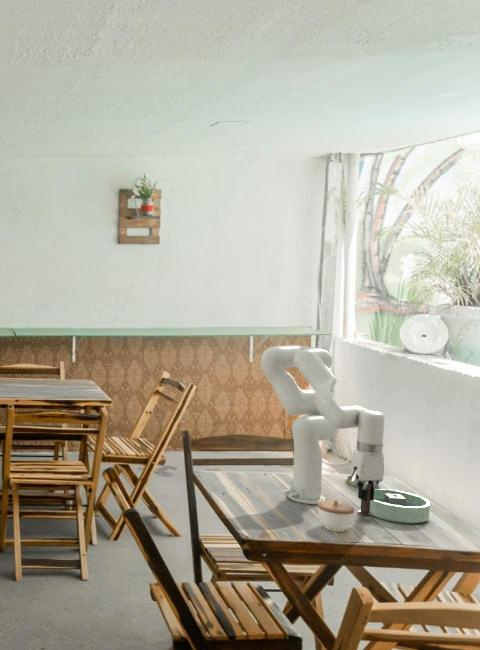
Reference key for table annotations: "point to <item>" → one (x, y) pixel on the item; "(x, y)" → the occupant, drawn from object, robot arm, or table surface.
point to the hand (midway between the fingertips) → (365, 498)
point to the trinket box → (335, 514)
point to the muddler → (366, 504)
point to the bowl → (400, 507)
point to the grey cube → (395, 499)
